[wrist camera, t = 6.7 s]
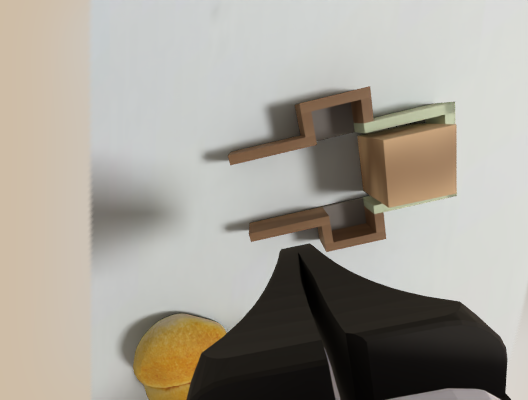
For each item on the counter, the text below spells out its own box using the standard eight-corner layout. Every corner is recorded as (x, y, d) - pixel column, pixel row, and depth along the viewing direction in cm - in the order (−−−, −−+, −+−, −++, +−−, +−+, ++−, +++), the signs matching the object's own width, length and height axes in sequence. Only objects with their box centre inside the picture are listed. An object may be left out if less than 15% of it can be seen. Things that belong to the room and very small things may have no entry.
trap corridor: (438, 213, 20) (457, 223, 18) (257, 253, 21) (257, 267, 19) (432, 71, 17) (454, 65, 15) (222, 122, 18) (219, 122, 16)
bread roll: (218, 298, 22) (210, 335, 18) (247, 377, 25) (246, 424, 21) (123, 321, 23) (97, 363, 19) (162, 397, 25) (145, 447, 21)
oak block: (417, 178, 20) (456, 193, 16) (362, 190, 20) (388, 207, 16) (414, 123, 18) (456, 124, 15) (356, 135, 19) (383, 140, 15)
